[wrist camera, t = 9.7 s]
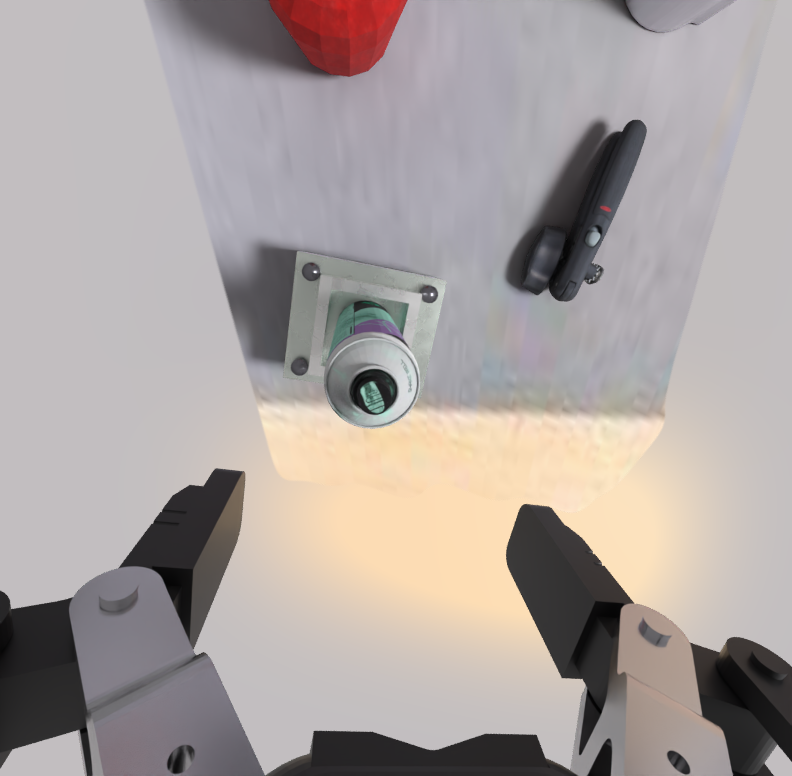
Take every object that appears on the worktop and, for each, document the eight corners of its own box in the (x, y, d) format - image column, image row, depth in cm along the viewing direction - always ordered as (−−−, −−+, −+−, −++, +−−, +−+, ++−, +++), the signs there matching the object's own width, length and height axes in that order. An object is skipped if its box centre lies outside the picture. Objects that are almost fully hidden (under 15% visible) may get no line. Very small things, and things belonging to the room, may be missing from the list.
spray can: (371, 366, 40) (386, 468, 21) (325, 335, 38) (296, 413, 19) (404, 322, 39) (451, 386, 20) (357, 287, 37) (361, 322, 18)
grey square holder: (436, 277, 43) (453, 282, 36) (413, 383, 46) (424, 407, 39) (303, 251, 40) (293, 251, 33) (290, 364, 44) (278, 385, 37)
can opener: (560, 309, 45) (587, 316, 40) (508, 283, 44) (529, 287, 38) (650, 148, 41) (694, 133, 36) (595, 113, 39) (633, 92, 34)
